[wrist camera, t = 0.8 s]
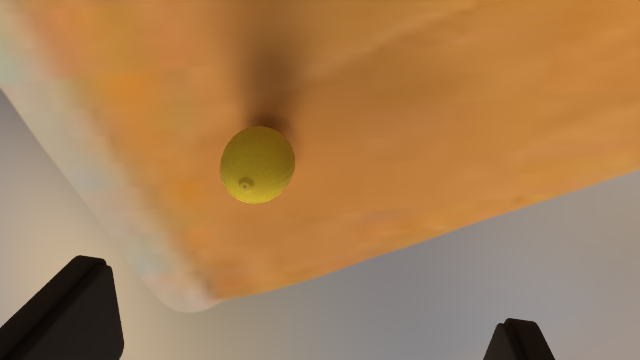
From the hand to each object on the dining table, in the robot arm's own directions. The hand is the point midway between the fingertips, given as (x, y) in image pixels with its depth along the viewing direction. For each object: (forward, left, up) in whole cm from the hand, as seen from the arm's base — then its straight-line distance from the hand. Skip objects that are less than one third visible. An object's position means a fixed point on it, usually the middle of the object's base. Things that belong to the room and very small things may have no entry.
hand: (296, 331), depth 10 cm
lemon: (+6, -6, -25) cm, 26 cm away
